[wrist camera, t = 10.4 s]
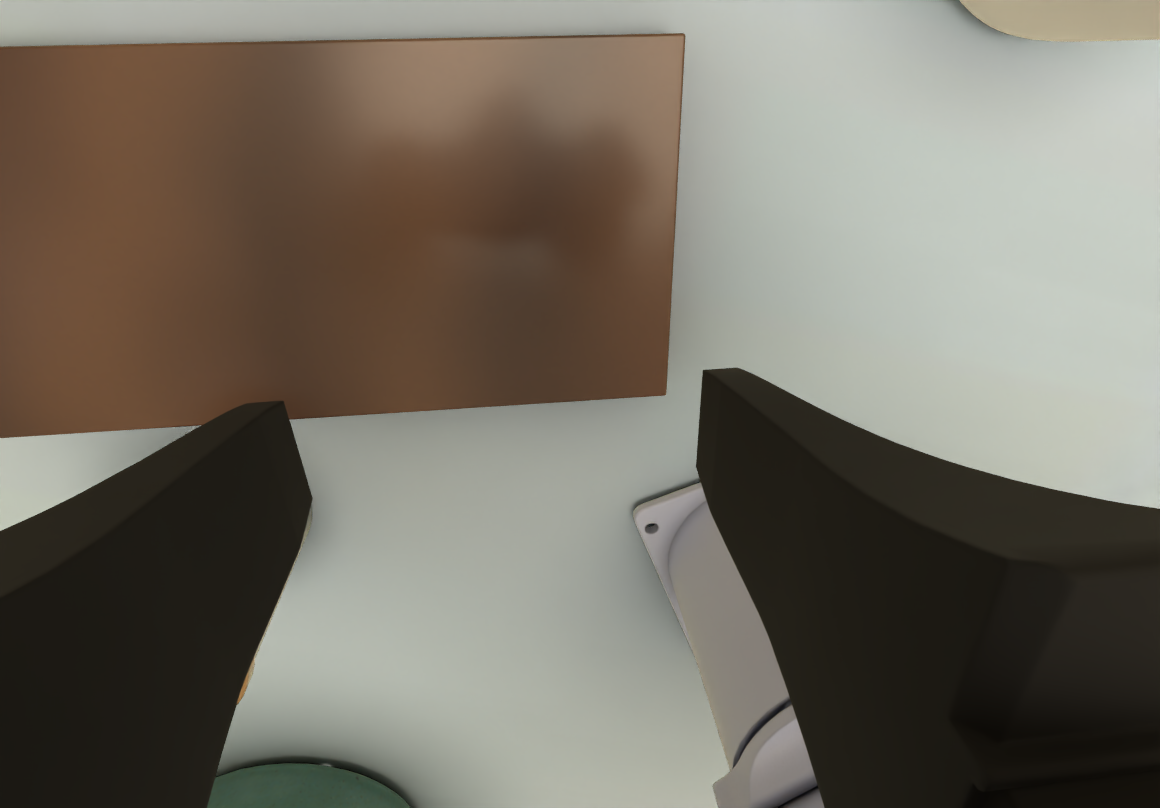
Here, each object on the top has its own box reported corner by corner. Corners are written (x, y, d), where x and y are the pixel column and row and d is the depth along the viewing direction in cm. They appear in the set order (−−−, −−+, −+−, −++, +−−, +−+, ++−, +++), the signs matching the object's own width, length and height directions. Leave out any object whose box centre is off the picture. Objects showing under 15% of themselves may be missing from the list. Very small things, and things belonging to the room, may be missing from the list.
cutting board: (672, 35, 17) (685, 33, 15) (657, 375, 21) (666, 396, 20) (-151, 51, 15) (-214, 50, 14) (32, 413, 20) (-2, 438, 19)
